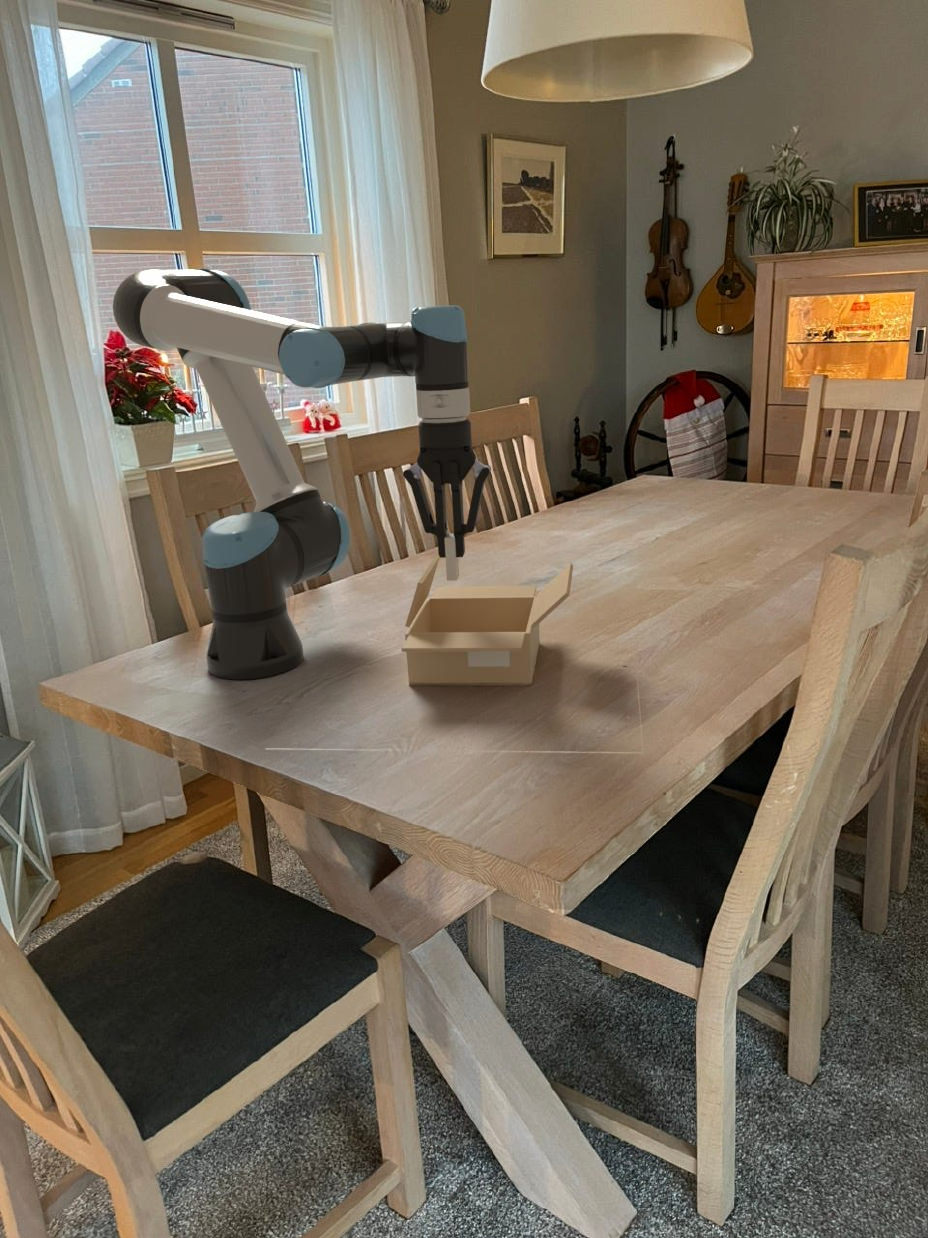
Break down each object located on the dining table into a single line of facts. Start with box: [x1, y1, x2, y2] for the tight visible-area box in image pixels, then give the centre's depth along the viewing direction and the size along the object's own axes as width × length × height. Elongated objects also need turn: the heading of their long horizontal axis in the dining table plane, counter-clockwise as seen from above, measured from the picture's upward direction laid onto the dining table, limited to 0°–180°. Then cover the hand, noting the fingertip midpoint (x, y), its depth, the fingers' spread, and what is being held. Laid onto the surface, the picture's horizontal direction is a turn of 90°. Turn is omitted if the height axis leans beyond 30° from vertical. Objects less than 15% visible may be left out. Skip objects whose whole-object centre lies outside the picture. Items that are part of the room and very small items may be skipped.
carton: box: [401, 585, 541, 687], centre depth 148 cm, size 18×30×8 cm, turn 172°
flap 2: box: [531, 562, 574, 628], centre depth 144 cm, size 1×16×7 cm
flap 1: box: [405, 553, 440, 628], centre depth 147 cm, size 1×16×7 cm, turn 172°
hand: (453, 577), depth 146 cm, fingers closed
